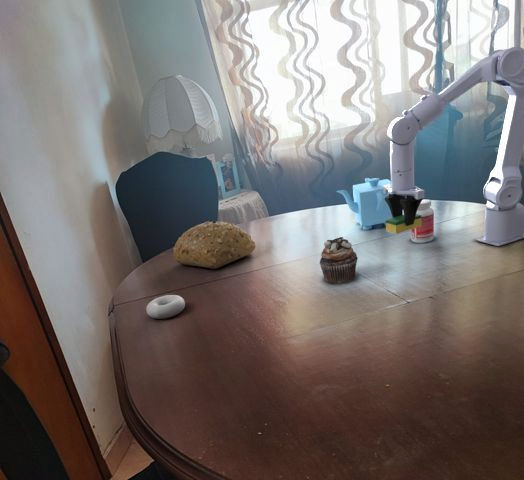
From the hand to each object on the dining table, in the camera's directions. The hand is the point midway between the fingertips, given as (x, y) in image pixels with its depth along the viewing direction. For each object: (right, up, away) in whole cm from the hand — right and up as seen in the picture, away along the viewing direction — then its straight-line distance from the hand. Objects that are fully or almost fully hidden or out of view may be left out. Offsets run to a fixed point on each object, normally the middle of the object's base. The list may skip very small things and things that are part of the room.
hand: (403, 223), depth 123 cm
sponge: (0, -1, +1) cm, 1 cm away
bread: (-53, -4, +30) cm, 61 cm away
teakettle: (+1, +9, +35) cm, 36 cm away
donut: (-62, -24, -4) cm, 67 cm away
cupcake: (-17, -15, -3) cm, 23 cm away
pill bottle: (+9, -2, +11) cm, 15 cm away
